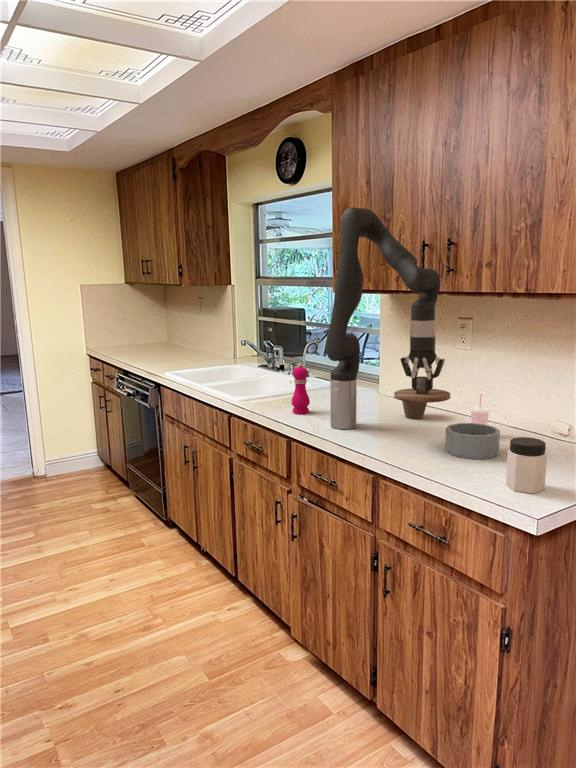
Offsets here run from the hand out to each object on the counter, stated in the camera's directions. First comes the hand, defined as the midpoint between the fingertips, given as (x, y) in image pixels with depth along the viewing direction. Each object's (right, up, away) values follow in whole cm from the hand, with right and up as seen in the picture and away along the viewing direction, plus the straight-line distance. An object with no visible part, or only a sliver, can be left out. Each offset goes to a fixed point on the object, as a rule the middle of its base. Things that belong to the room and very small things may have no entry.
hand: (422, 390), depth 176 cm
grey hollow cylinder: (+14, -19, -4) cm, 24 cm away
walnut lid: (0, -2, 0) cm, 2 cm away
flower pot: (+6, -11, +39) cm, 41 cm away
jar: (+18, -24, -34) cm, 45 cm away
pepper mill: (-37, -10, +50) cm, 62 cm away
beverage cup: (+22, -15, +14) cm, 30 cm away
